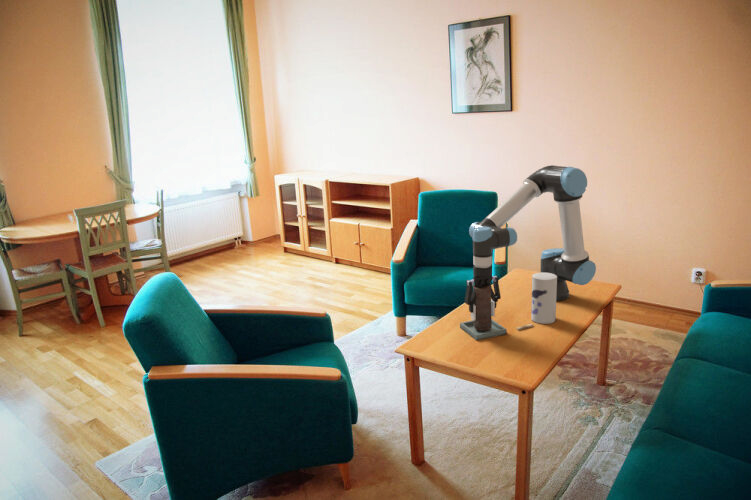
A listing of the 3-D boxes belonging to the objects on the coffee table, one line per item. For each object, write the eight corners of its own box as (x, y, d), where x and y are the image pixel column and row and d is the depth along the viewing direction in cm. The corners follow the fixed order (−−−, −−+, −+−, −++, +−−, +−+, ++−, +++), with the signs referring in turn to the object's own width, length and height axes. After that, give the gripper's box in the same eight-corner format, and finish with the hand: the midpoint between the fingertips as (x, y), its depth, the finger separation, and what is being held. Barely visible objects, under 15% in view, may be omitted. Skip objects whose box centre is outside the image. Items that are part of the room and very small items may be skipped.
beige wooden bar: (531, 326, 222) (531, 323, 222) (533, 327, 221) (533, 324, 221) (516, 330, 219) (516, 327, 219) (518, 331, 218) (518, 328, 218)
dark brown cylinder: (491, 333, 215) (491, 287, 210) (473, 333, 217) (472, 287, 211) (491, 325, 222) (490, 281, 217) (474, 325, 224) (472, 281, 218)
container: (527, 320, 227) (528, 276, 222) (537, 313, 234) (538, 270, 229) (549, 326, 220) (550, 281, 215) (559, 318, 227) (561, 274, 222)
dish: (488, 321, 228) (488, 317, 228) (506, 334, 215) (506, 329, 215) (459, 327, 224) (459, 322, 223) (476, 340, 211) (476, 335, 211)
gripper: (500, 259, 219) (500, 310, 225) (454, 266, 212) (455, 318, 218) (510, 263, 212) (509, 316, 218) (463, 271, 205) (464, 325, 212)
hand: (482, 317), depth 218 cm, fingers open, 8 cm apart
